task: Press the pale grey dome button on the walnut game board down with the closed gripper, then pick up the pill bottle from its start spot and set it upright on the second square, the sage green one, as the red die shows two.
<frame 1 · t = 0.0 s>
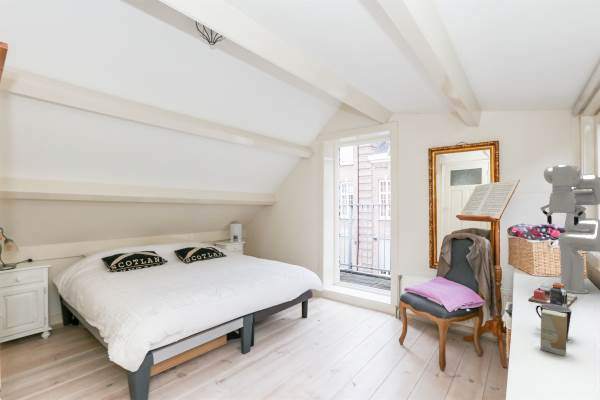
hand: (562, 224, 153), 37 cm above the cabinet, tool pointing down, fingers open, 9 cm apart
coffee mug: (553, 335, 111), on the cabinet
pill bottle: (558, 309, 139), on the cabinet
red die: (539, 300, 151), resting on game board
game board: (553, 299, 153), on the cabinet
dome: (545, 287, 160), point 4 cm above the cabinet, slide at 0.0 cm
skincare box: (553, 351, 99), on the cabinet
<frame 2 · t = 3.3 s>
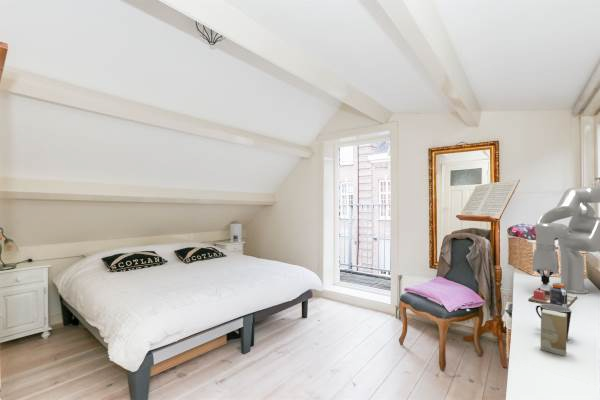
hand: (545, 283, 159), 6 cm above the cabinet, tool pointing down, fingers closed
dome: (545, 287, 160), point 4 cm above the cabinet, slide at 0.2 cm, touching gripper
everything else where it was.
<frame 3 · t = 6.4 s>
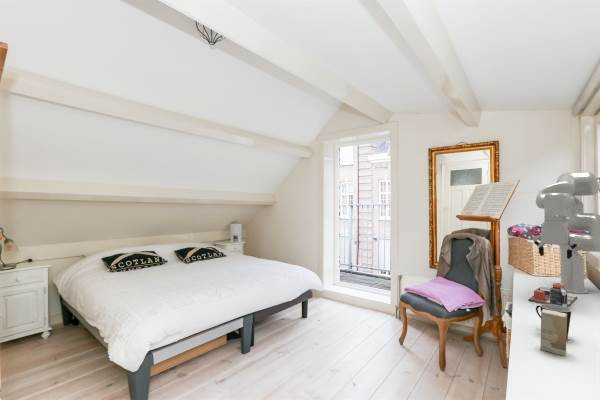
hand: (555, 257, 143), 23 cm above the cabinet, tool pointing down, fingers open, 9 cm apart
dome: (545, 289, 160), point 3 cm above the cabinet, slide at 0.9 cm
everything else where it was.
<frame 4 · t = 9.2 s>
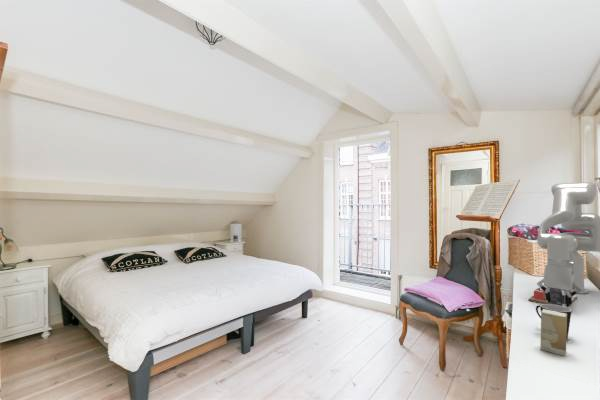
hand: (558, 303, 139), 3 cm above the cabinet, tool pointing down, fingers closed on pill bottle, 6 cm apart
pill bottle: (558, 309, 139), on the cabinet, touching gripper
everything else where it was.
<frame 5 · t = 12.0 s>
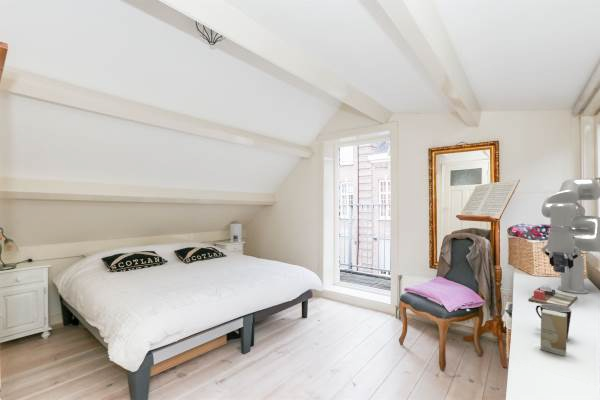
hand: (561, 266, 150), 17 cm above the cabinet, tool pointing down, fingers closed on pill bottle, 6 cm apart
pill bottle: (561, 272, 150), point 14 cm above the cabinet, touching gripper
everything else where it was.
when the fingers open (5 cm above the cabinet, at t = 15.1 s): pill bottle stays where it is, resting on game board.
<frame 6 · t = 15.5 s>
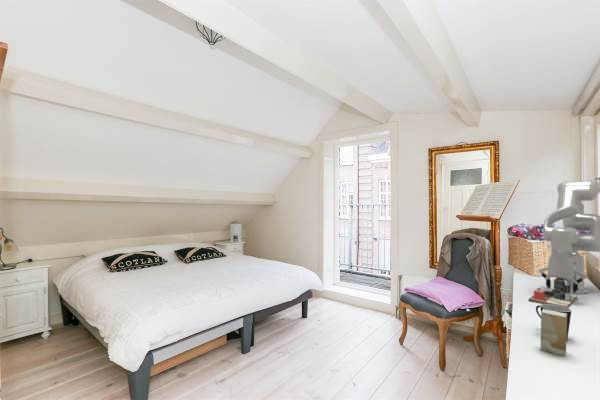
hand: (561, 289, 150), 5 cm above the cabinet, tool pointing down, fingers open, 9 cm apart
pill bottle: (561, 299, 150), point 1 cm above the cabinet, touching game board
everything else where it was.
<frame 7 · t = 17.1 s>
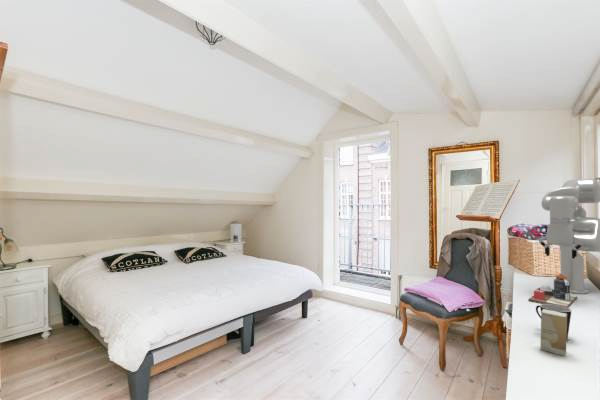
hand: (560, 256, 151), 21 cm above the cabinet, tool pointing down, fingers open, 9 cm apart
nothing on the cabinet moved.
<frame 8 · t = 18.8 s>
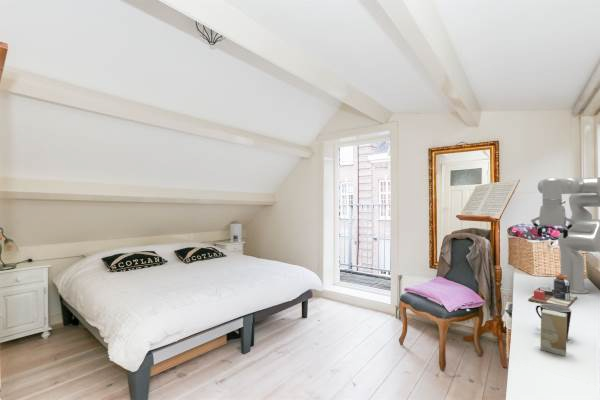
hand: (552, 237, 156), 30 cm above the cabinet, tool pointing down, fingers open, 9 cm apart
nothing on the cabinet moved.
at the end: pill bottle inside the target area (0.2 cm from its centre), point 1.0 cm above the cabinet; pill bottle tilted 0°; dome slide at 0.9 cm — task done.
